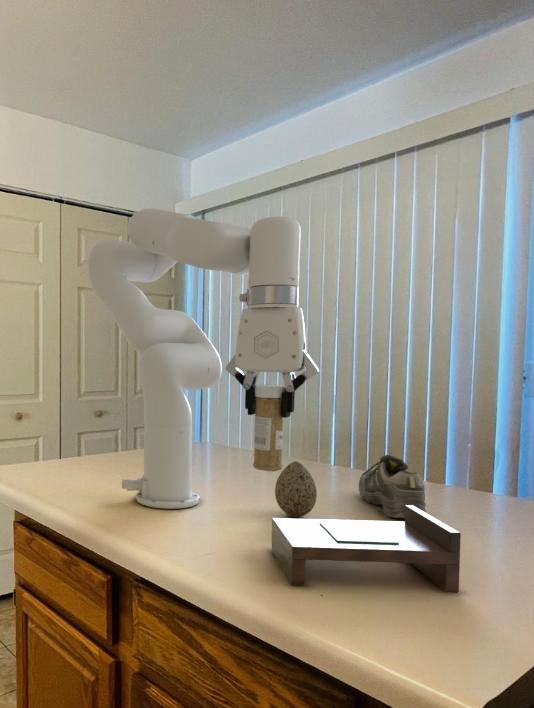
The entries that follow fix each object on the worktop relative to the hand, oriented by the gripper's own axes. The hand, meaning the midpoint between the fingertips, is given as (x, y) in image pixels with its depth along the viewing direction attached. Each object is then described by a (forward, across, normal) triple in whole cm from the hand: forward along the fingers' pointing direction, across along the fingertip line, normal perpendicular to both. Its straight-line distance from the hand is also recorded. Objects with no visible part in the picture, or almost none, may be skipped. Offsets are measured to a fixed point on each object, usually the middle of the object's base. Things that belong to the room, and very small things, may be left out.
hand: (269, 414), depth 83 cm
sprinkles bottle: (+9, 0, 0) cm, 9 cm away
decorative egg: (+20, +2, +14) cm, 24 cm away
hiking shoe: (+20, +16, +30) cm, 39 cm away
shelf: (+19, +14, -7) cm, 25 cm away
